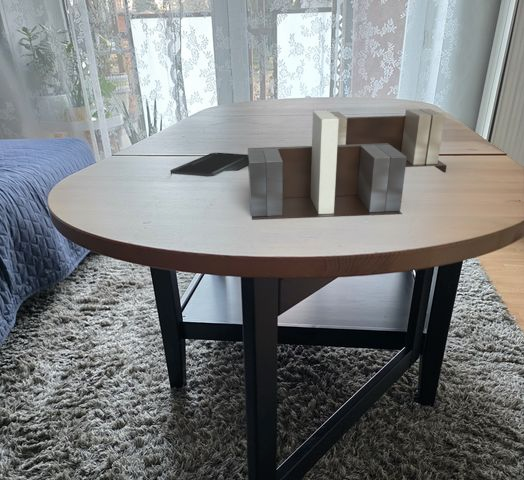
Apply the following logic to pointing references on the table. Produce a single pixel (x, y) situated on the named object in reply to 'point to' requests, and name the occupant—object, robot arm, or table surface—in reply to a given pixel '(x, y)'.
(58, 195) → the table surface
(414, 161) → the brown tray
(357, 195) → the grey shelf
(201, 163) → the phone
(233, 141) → the table surface
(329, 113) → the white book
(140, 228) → the table surface
